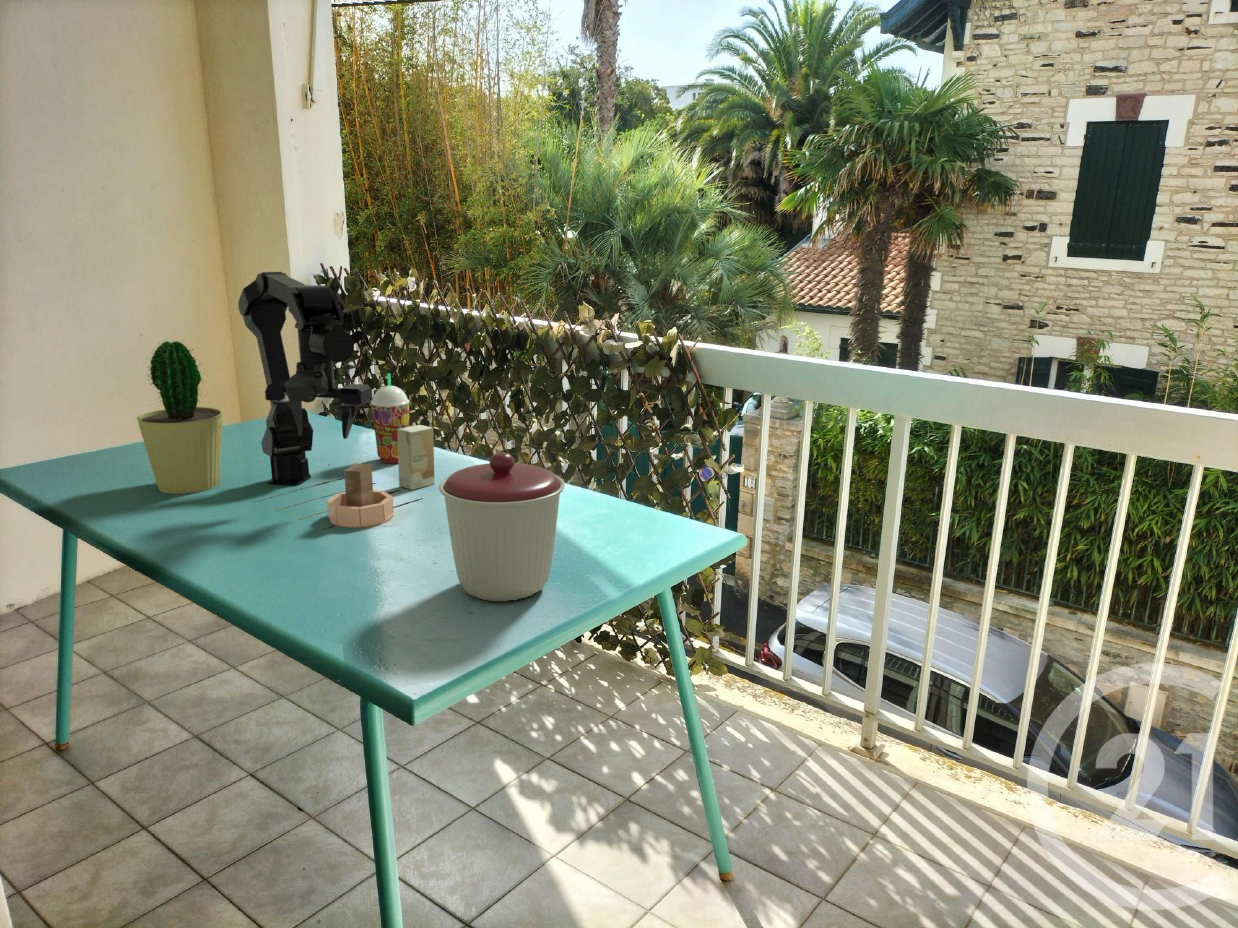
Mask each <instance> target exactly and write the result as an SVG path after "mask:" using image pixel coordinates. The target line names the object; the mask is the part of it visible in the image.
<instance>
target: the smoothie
mask: <svg viewBox="0 0 1238 928" xmlns="http://www.w3.org/2000/svg"><path fill="white" fill-rule="evenodd" d="M386 375H387V385H384V386H382V387H381V388H379V389H378V390H376V392H375V394H374V396H373V397H372V398H373V399H371V401H370V404H371V412H372V420H373V427H374V435H375V443H376V450H377V452H376V453H377V456H378V457H379V459H380V462H382V463H383V462H384V464H390V463H391V464H392V463H394V464H398V436H397V429H401V428H406V427H410V400H409V398H408V395H406V393H405V392H404V391H403V390H402V388H400V387H398V386H395V385H392V379H391V373H388V372H387V374H386Z"/></svg>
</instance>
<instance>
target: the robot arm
mask: <svg viewBox="0 0 1238 928" xmlns="http://www.w3.org/2000/svg"><path fill="white" fill-rule="evenodd" d="M237 305H238V310H239V313H240V315H241V317H242V319H243V322H244V325H245V327H246V328H247V329H248V330H249V332H250V333H252V334H253V335H254V337H255V338H256V341H257V346H258V350H259V355H260V360H261V365H262V370H263V374H264V378H265V383H266V387H265V390H264V397H265V400H266V401H269V402H270V410H269V412H268V413H267V414H268V415H267V417H266V419H265V424H266V426H265V427H266V428H265V432H264V434H263V437H262V439H261V441H260V443H261V444H260V445H261V449H262V452H263V454H265V455H266V456H268V457H269V461H270V471H271V472H270V474H271V478H270V479H269V480H267V483H268V484H275V485H289V486H290V485H292V486H293V485H294V486H297V485H299V484H301V483H303V482H305V481H306V480H309V478H311V477H312V474H311V473H310V468H309V459H308V457H307V456H306V452H311V451H312V448H313V441H314V429H313V426H312V424H311V423H310V420H309V415H308V411H307V410H306V408H304V407H303V405H302V404H303V403H302V402H304V403H313V402H314V401H315V400H316V399H317V398H326V399H339V401H340V402H341V403H342V404H339V405H338V408H339V410H340V412H341V428H342V429H341V432H342V439H344V440H347V439H348V438H349V435H350V432H351V429H352V427H353V423H354V420H355V418H356V415H357V413H358V412H359V410H360V408H361V406H363V405H366V404H367V402H369V401H370V400H371V401H372V400H373V398H374V397H373V390H372V388H371V387H370V386H369V384H359V383H358V384H357V383H351V384H348V385H346V386H345V385H344V386H343V387H341V388H339V387H338V380H337V379H335V372H334V365H337V363H342V362H345V361H347V360H348V359H350V358H351V357H352V354H353V353H354V350H355V342H354V340H353V338H352V336H351V334H349V333H348V332H347V331H345V330H344V329H343V325H345V319H344V316H345V315H344V312H343V311H342V308H341V306H340V305H339V302H338V300H337V299H336V296H335V294H334V292H333V291H332V289H331V288H330V286H328V285H320V284H318V285H315V284H314V285H313V284H310V285H309V284H304V283H303V282H300V281H299V280H296V279H295V278H292V277H290V276H288V274H287V273H285V272H282V271H262V272H261V273H258V274H257V275H256V278H255V279H254V280H253V281H252V282H251V283H249V284H248V285H246V286H244V288H243V289H242V290H241V294H240V296H239V299H238V303H237ZM287 309H288V312H289V313H290V314H291V315H292V317H293V318H294V320H295V322H296V323H295V324H294V328H295V329H296V330H297V338H298V349H299V350H298V353H299V361H297V362H296V367H295V368H296V370H295V374H293V375H290V371H289V366H288V361H287V356H286V352H285V347H284V346H285V345H284V343H283V338H282V330H283V327H284V326H285V323H286V320H287V315H286V312H287Z"/></svg>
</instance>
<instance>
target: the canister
mask: <svg viewBox="0 0 1238 928" xmlns="http://www.w3.org/2000/svg"><path fill="white" fill-rule="evenodd" d="M564 489H565V481H564V480H563V479H562V478H561V477H560V476H558V475H556V474H555V473H553V472H552V471H550V470H548V469H546V468H544V467H541V466H537V465H534V464H528V463H519V462H515V459H514V457H513V456H512V454H510V453H508V452H503V451H502V452H499V451H498V452H496V453H494V454H493V455H492V456H491V457H490V458H489V463H482V464H477V465H471V466H468V467H465V468H464V467H463V469H462V468H461V469H459V470H457V471H455V472H453V473H452V474H451V475H449V476H448V477H446V478H444V479H443V480H441V482H440V484H439V485H438V490H439V492H440V493H441V495H442V496H443V497H444V504H445V511H446V516H447V524H448V530H449V536H450V537H449V538H450V543H451V550H452V554H453V560H454V565H455V571H456V572H455V573H456V575H457V579H458V582H459V584H460V586H461V587H462V589H463V590H464V591H465V592H466V593H467V594H468V595H471V596H472V597H475V598H477V599H479V598H480V599H482V600H483V601H488V602H489V601H490V602H509V601H508V600H514V601H516V600H515V599H520V598H523V599H525V598H524V597H526V598H528V597H527V596H529V595H531V596H533V595H532V594H534V593H536V592H537V593H539V592H540V591H541V590H542V589H543V588H544V587H545V585H546V584H547V582H548V580H549V578H550V577H549V576H550V573H551V567H552V562H553V555H554V550H555V549H554V548H555V540H556V531H557V524H558V523H557V522H558V514H559V508H560V507H559V504H560V495H561V493H562V492H563V491H564ZM538 591H539V592H538ZM537 593H536V594H537ZM534 595H535V594H534ZM520 600H521V599H520Z"/></svg>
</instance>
